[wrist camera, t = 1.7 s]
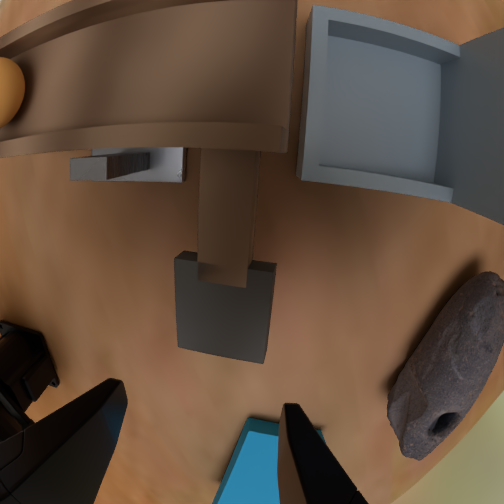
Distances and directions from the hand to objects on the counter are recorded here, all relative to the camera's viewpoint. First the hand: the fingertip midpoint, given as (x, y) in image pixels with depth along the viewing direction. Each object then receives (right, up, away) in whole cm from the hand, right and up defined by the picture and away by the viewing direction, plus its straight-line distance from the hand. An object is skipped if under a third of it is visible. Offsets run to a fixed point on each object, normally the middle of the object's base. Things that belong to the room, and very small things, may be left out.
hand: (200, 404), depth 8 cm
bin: (+9, +13, +8) cm, 17 cm away
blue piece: (+2, -19, +20) cm, 27 cm away
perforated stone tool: (+16, -3, +13) cm, 21 cm away
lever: (-6, +8, +5) cm, 11 cm away
